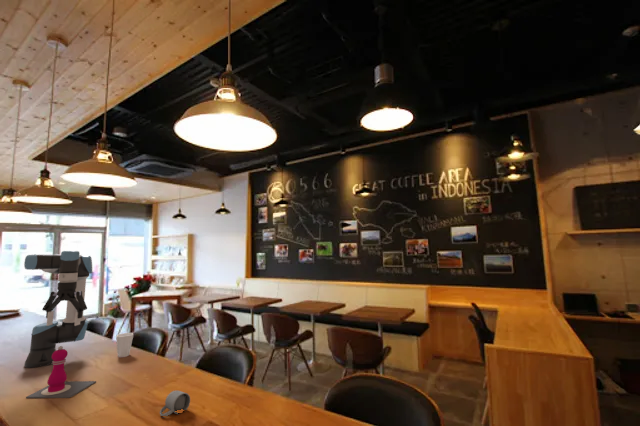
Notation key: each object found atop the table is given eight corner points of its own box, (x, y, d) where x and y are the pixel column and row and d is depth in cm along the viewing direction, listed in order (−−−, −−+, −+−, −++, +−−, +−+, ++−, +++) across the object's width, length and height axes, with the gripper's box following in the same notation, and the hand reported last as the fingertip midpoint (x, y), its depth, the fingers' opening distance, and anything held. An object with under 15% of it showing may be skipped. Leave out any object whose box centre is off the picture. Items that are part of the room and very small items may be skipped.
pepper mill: (69, 387, 151) (73, 344, 154) (52, 393, 145) (57, 349, 147) (59, 385, 154) (63, 343, 156) (42, 391, 147) (47, 347, 150)
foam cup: (135, 353, 204) (136, 333, 206) (125, 358, 195) (126, 336, 197) (121, 353, 205) (123, 332, 207) (111, 357, 196) (112, 336, 198)
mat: (25, 398, 142) (26, 396, 142) (56, 382, 159) (56, 381, 159) (70, 397, 142) (70, 396, 143) (95, 382, 159) (96, 380, 159)
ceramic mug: (179, 404, 137) (180, 385, 137) (190, 409, 132) (191, 390, 133) (155, 414, 128) (156, 395, 129) (165, 421, 123) (166, 400, 124)
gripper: (35, 282, 153) (31, 326, 150) (87, 282, 153) (83, 326, 150) (48, 280, 160) (44, 323, 157) (97, 280, 160) (94, 323, 158)
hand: (63, 325), depth 154 cm, fingers open, 13 cm apart
